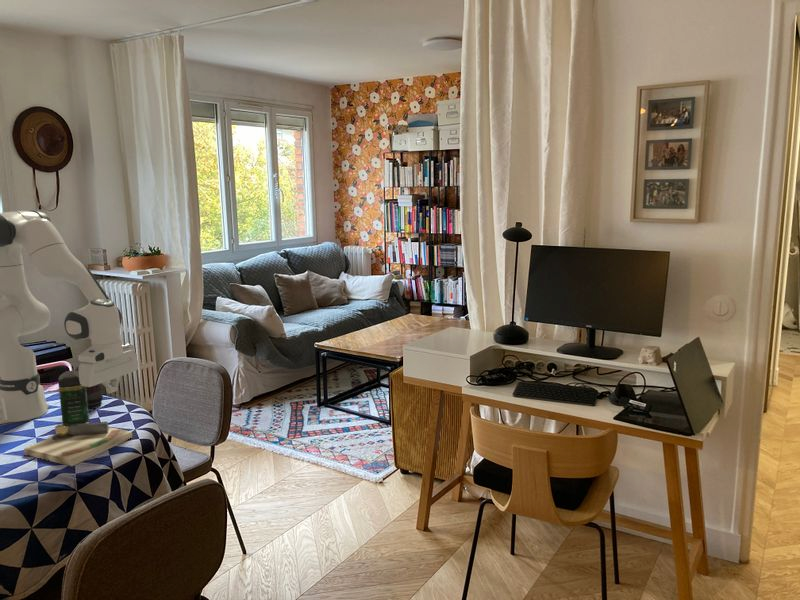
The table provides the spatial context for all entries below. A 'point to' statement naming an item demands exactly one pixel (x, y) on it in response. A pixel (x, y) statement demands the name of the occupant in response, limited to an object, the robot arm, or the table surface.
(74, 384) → the coffee jar
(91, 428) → the tuning needle
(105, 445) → the dial board
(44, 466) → the table surface
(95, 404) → the camera lens
